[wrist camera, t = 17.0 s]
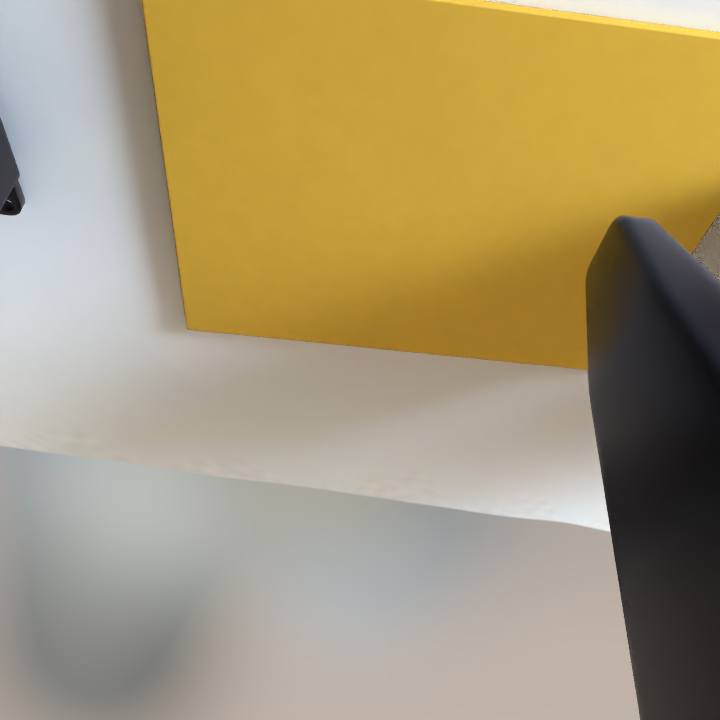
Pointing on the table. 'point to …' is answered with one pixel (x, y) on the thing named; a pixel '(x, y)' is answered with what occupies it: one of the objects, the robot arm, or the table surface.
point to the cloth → (422, 165)
